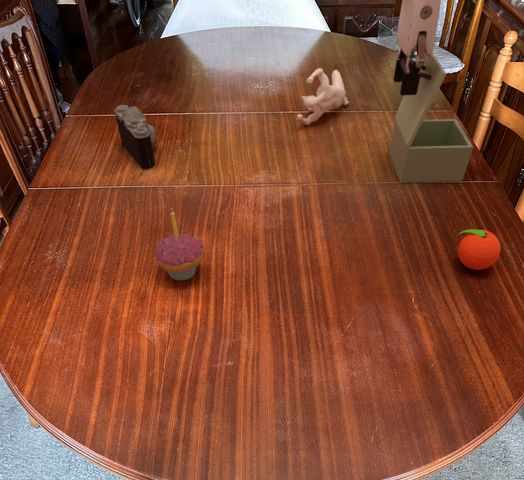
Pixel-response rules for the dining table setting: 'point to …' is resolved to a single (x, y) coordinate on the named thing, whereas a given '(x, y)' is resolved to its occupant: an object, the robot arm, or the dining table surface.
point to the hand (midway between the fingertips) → (404, 86)
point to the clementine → (478, 249)
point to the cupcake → (179, 253)
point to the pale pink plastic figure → (324, 96)
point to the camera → (136, 135)
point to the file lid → (419, 98)
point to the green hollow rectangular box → (431, 152)
